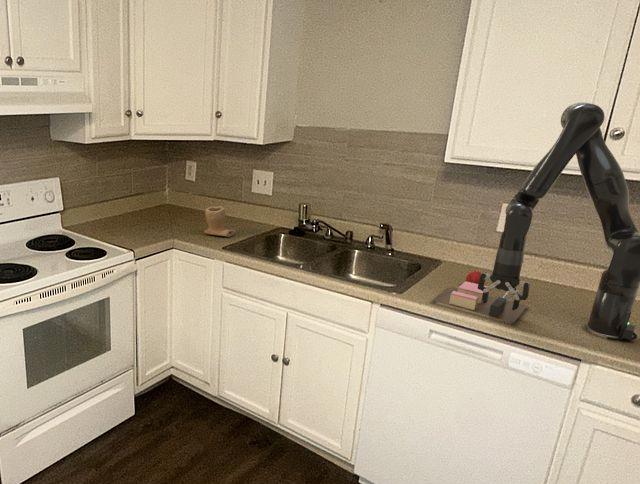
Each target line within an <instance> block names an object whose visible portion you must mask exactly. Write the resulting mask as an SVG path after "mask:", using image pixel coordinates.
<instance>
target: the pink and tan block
mask: <svg viewBox="0 0 640 484" xmlns="http://www.w3.org/2000/svg"><path fill="white" fill-rule="evenodd" d="M478 298H479V297H476V296H472V295H468V294H464V293H460V292H456V291H453V292H452V293H451V296H450V301H449V304H453V305H457V306H461V307H464V308H468V309H472V310H475V309H476V308H477V303H478Z"/></svg>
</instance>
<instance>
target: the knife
mask: <svg viewBox="0 0 640 484" xmlns="http://www.w3.org/2000/svg"><path fill="white" fill-rule="evenodd" d="M509 294H510V291H506V292H505V294H503V296H502V297H500V296H498V297H496V298H497V299H496V300H495V301H494V302H493V303H492V304H491V307H490V311H489V316H488V317H491V318H494V319H498V318H497V317H498V316H499V315H500V313H501V312H502V311H503V310H504V307H505V303H506V302H507V301H508V299H509Z"/></svg>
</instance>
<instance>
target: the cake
mask: <svg viewBox="0 0 640 484" xmlns="http://www.w3.org/2000/svg"><path fill="white" fill-rule="evenodd" d="M488 286H489V285H488ZM488 286H487V285H484V287H488ZM457 288H458V292H460V293H464V294H468V295H472V296H476V297H479V298H478V303H480V304H481V303H482V302H483V301H482V295H483V291H482V290H479V289H478V284H475V283H471V282H466V281H464V282H463V283H462V284H461V285H459V286H458V287H457ZM488 292H489V293H490V290H489V291H488Z"/></svg>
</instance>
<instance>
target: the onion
mask: <svg viewBox="0 0 640 484" xmlns="http://www.w3.org/2000/svg"><path fill="white" fill-rule="evenodd" d="M481 274H482V273H481V272H480V271H479V269H477V268H476V269H474V270H473V271H471V272H469V273H467V275H466V278H465V282H471V283H475V284H479V280H480V277H481Z"/></svg>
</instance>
